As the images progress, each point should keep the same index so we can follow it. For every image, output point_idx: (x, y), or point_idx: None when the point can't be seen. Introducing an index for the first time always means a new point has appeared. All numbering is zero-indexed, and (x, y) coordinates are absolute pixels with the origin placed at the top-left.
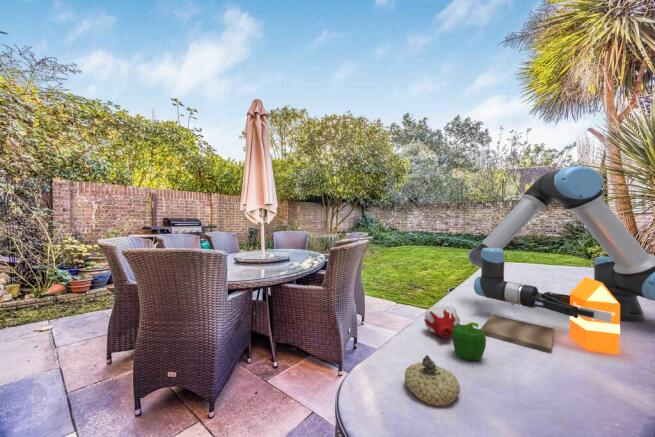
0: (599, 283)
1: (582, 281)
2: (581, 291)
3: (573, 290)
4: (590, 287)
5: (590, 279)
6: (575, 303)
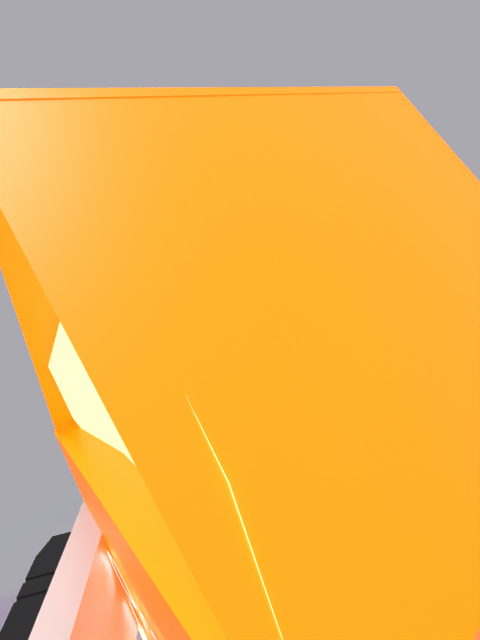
0: (382, 101)
1: (83, 218)
2: (437, 344)
3: (290, 614)
4: (399, 194)
5: (200, 100)
6: None
